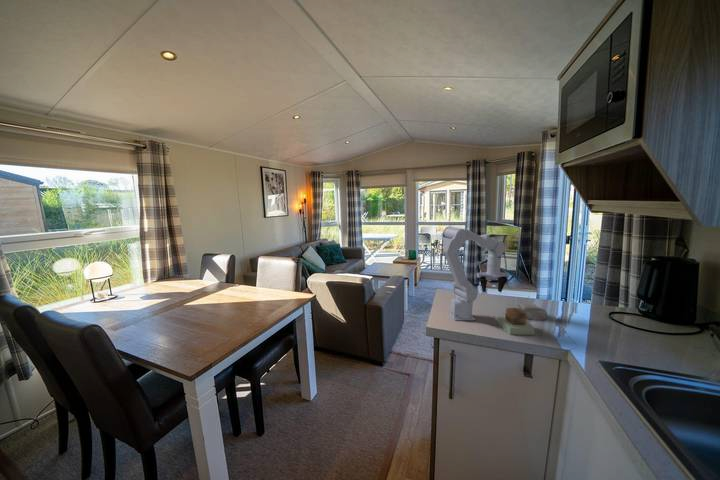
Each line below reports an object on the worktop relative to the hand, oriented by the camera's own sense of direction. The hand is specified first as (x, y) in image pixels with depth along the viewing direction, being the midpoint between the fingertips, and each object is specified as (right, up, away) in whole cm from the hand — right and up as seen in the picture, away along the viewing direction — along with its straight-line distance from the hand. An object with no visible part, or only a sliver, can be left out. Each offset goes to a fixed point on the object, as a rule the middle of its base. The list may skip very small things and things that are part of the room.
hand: (491, 291), depth 127 cm
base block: (+2, -13, -15) cm, 20 cm away
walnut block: (+2, -10, -15) cm, 18 cm away
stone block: (+18, -11, -2) cm, 21 cm away
